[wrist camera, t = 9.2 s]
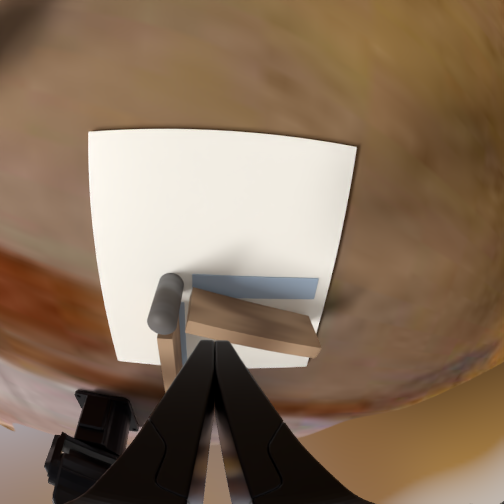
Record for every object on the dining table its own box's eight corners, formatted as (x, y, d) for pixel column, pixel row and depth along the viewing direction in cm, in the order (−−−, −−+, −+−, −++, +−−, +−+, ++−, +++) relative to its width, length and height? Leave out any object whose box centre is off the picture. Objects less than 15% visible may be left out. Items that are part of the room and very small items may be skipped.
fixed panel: (188, 363, 25) (184, 406, 20) (167, 362, 24) (161, 405, 20) (184, 270, 21) (176, 312, 16) (159, 269, 20) (145, 310, 16)
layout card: (305, 363, 26) (306, 367, 26) (119, 357, 24) (117, 361, 23) (354, 146, 18) (357, 147, 17) (91, 131, 16) (88, 131, 15)
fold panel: (189, 298, 21) (184, 332, 17) (192, 287, 20) (188, 320, 17) (303, 325, 23) (314, 358, 20) (308, 315, 22) (321, 348, 19)
